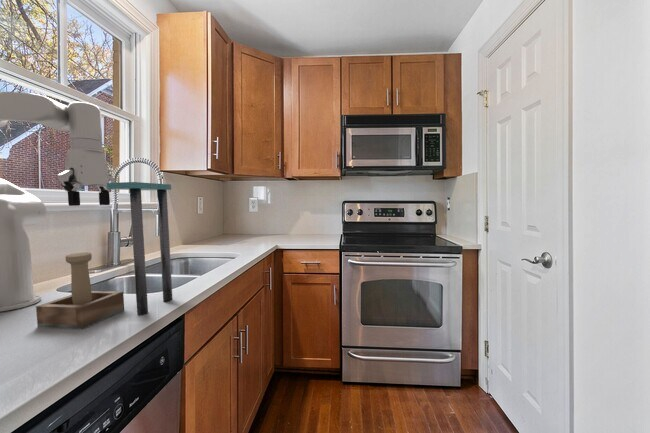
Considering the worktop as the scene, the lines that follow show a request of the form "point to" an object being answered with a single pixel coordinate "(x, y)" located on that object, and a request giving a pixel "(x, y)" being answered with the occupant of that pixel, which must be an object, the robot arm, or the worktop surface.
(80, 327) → the socket
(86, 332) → the worktop surface
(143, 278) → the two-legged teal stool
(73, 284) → the handle
